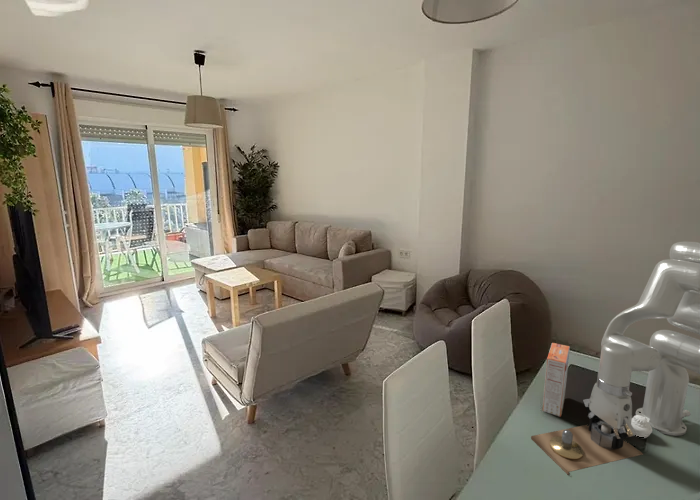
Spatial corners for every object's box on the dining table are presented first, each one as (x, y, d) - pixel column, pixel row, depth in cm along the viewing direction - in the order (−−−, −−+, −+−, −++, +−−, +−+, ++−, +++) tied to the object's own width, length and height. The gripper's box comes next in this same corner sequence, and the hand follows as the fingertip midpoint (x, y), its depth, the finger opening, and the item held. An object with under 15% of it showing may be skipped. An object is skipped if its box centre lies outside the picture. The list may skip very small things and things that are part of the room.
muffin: (656, 443, 106) (659, 423, 105) (634, 443, 107) (638, 422, 105) (640, 429, 112) (643, 410, 111) (620, 428, 113) (623, 409, 111)
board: (599, 424, 115) (601, 408, 114) (643, 457, 101) (646, 438, 100) (531, 438, 109) (532, 421, 108) (567, 474, 96) (570, 455, 94)
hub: (566, 436, 108) (568, 419, 107) (590, 457, 100) (592, 438, 99) (543, 441, 107) (544, 423, 105) (565, 462, 99) (567, 443, 97)
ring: (603, 430, 111) (604, 419, 110) (624, 446, 104) (626, 435, 103) (584, 434, 109) (586, 423, 108) (605, 451, 102) (607, 439, 102)
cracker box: (546, 393, 132) (551, 341, 128) (564, 398, 129) (571, 345, 124) (540, 413, 121) (546, 357, 117) (560, 419, 117) (567, 362, 113)
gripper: (653, 401, 95) (643, 458, 99) (596, 368, 112) (589, 418, 116) (631, 405, 94) (622, 463, 97) (576, 371, 110) (570, 421, 114)
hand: (604, 438), depth 106 cm, fingers closed on ring, 7 cm apart
